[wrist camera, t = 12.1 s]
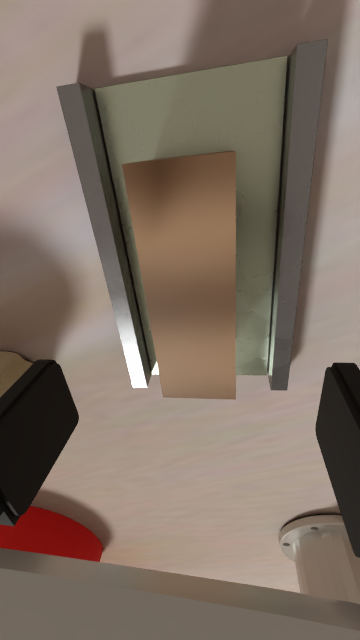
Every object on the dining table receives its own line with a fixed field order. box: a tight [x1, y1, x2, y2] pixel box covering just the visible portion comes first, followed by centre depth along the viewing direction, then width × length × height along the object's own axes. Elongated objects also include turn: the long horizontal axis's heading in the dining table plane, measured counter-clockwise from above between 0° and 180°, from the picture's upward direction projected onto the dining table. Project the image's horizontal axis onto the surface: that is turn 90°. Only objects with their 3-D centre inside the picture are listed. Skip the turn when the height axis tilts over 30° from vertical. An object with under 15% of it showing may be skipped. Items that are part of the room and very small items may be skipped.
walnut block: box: [122, 151, 236, 399], centre depth 17 cm, size 13×4×6 cm, turn 6°
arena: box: [57, 39, 328, 390], centre depth 19 cm, size 12×20×2 cm, turn 6°
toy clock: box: [0, 506, 103, 562], centre depth 46 cm, size 20×6×20 cm
